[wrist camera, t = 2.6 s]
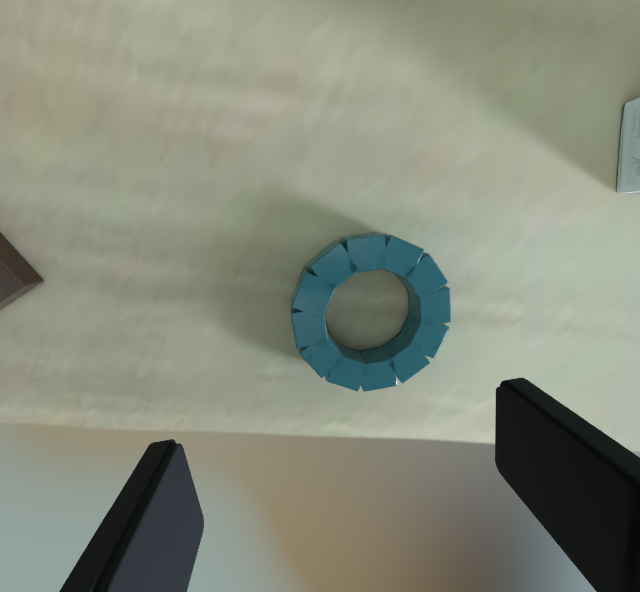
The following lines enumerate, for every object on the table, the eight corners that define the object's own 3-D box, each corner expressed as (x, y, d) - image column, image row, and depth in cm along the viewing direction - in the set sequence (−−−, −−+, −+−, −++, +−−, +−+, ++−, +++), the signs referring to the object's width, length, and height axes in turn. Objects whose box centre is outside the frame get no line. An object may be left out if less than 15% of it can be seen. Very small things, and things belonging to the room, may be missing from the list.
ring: (350, 401, 23) (356, 418, 21) (261, 298, 21) (258, 307, 19) (462, 318, 23) (478, 327, 21) (383, 201, 20) (394, 200, 18)
